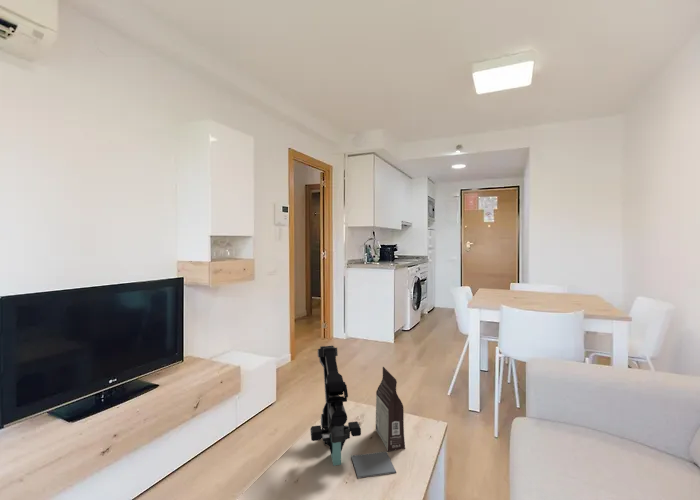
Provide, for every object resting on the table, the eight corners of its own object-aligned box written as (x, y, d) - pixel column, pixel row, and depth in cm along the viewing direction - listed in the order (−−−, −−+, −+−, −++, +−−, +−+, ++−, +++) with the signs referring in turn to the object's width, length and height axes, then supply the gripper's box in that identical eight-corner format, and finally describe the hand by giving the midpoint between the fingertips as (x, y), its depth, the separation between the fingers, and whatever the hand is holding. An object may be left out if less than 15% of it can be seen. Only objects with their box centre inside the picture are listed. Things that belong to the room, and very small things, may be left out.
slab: (330, 454, 137) (330, 431, 137) (338, 453, 138) (338, 430, 137) (333, 465, 130) (333, 441, 130) (341, 464, 131) (341, 440, 130)
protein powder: (407, 448, 140) (407, 379, 139) (386, 452, 138) (386, 382, 137) (392, 427, 156) (391, 364, 155) (373, 430, 154) (372, 367, 153)
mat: (351, 457, 135) (351, 455, 135) (386, 452, 138) (386, 451, 138) (357, 478, 123) (357, 476, 123) (396, 472, 126) (396, 471, 126)
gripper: (312, 426, 124) (312, 469, 124) (364, 420, 127) (364, 462, 128) (310, 411, 135) (310, 450, 135) (357, 406, 138) (358, 445, 139)
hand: (335, 452), depth 134 cm, fingers closed on slab, 3 cm apart
